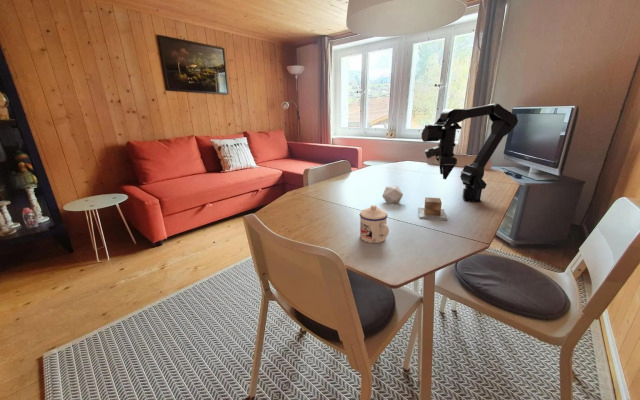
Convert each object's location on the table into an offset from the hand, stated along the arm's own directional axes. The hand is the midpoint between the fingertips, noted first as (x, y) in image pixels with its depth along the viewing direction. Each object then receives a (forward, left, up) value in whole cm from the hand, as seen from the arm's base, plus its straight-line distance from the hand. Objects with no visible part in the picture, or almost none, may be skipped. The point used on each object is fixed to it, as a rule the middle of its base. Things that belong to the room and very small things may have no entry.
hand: (443, 176), depth 114 cm
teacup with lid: (+25, +42, -12) cm, 50 cm away
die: (+21, +5, -12) cm, 25 cm away
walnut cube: (+5, +16, -11) cm, 20 cm away
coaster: (+5, +16, -12) cm, 21 cm away
